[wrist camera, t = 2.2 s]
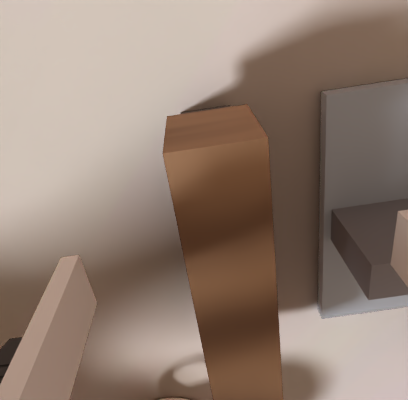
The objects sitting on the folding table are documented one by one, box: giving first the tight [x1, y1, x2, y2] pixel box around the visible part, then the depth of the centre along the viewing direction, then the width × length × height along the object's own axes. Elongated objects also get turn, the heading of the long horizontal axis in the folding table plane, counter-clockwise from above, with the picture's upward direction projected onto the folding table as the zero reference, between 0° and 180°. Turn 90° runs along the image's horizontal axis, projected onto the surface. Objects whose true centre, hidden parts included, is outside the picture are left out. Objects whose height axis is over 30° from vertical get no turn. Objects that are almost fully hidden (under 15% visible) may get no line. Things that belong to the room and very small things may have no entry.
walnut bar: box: [163, 104, 283, 400], centre depth 21 cm, size 20×4×5 cm, turn 8°
